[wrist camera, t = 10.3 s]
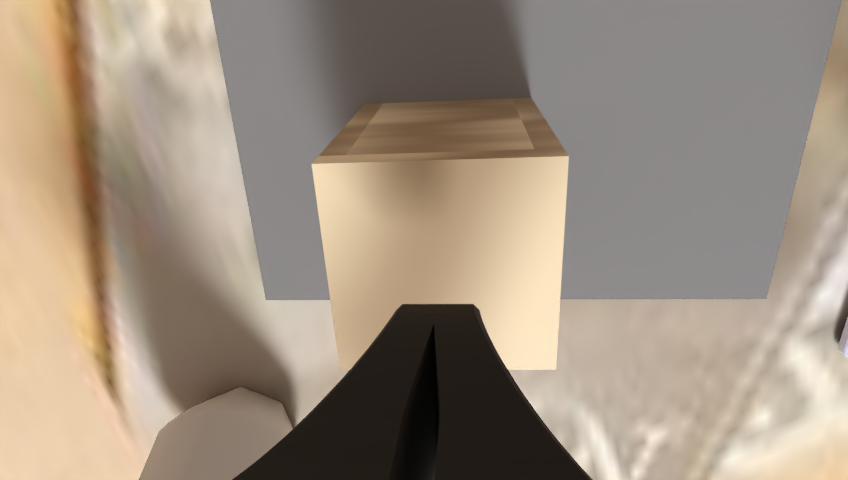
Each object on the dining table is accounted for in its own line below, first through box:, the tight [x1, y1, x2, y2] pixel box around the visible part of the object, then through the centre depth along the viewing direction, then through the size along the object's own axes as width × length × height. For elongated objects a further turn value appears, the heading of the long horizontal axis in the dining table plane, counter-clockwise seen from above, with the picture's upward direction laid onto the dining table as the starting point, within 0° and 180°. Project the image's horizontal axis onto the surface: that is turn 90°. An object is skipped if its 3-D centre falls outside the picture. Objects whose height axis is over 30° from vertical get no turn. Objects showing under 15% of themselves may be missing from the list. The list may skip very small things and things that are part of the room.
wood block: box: [312, 98, 569, 370], centre depth 15 cm, size 5×5×7 cm
